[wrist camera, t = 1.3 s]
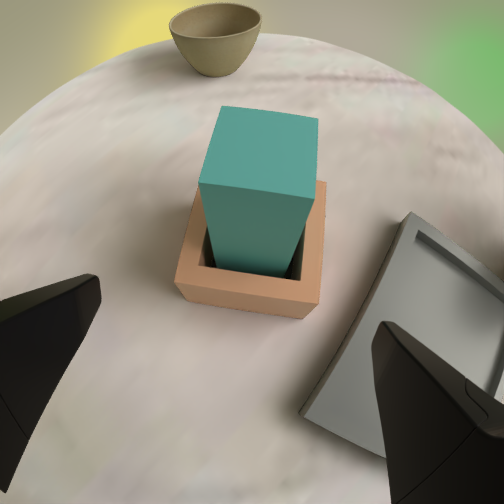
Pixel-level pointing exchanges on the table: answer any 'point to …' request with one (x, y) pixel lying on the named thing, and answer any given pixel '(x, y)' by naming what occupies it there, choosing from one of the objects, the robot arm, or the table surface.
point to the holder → (250, 285)
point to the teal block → (258, 188)
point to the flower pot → (216, 36)
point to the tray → (415, 329)
